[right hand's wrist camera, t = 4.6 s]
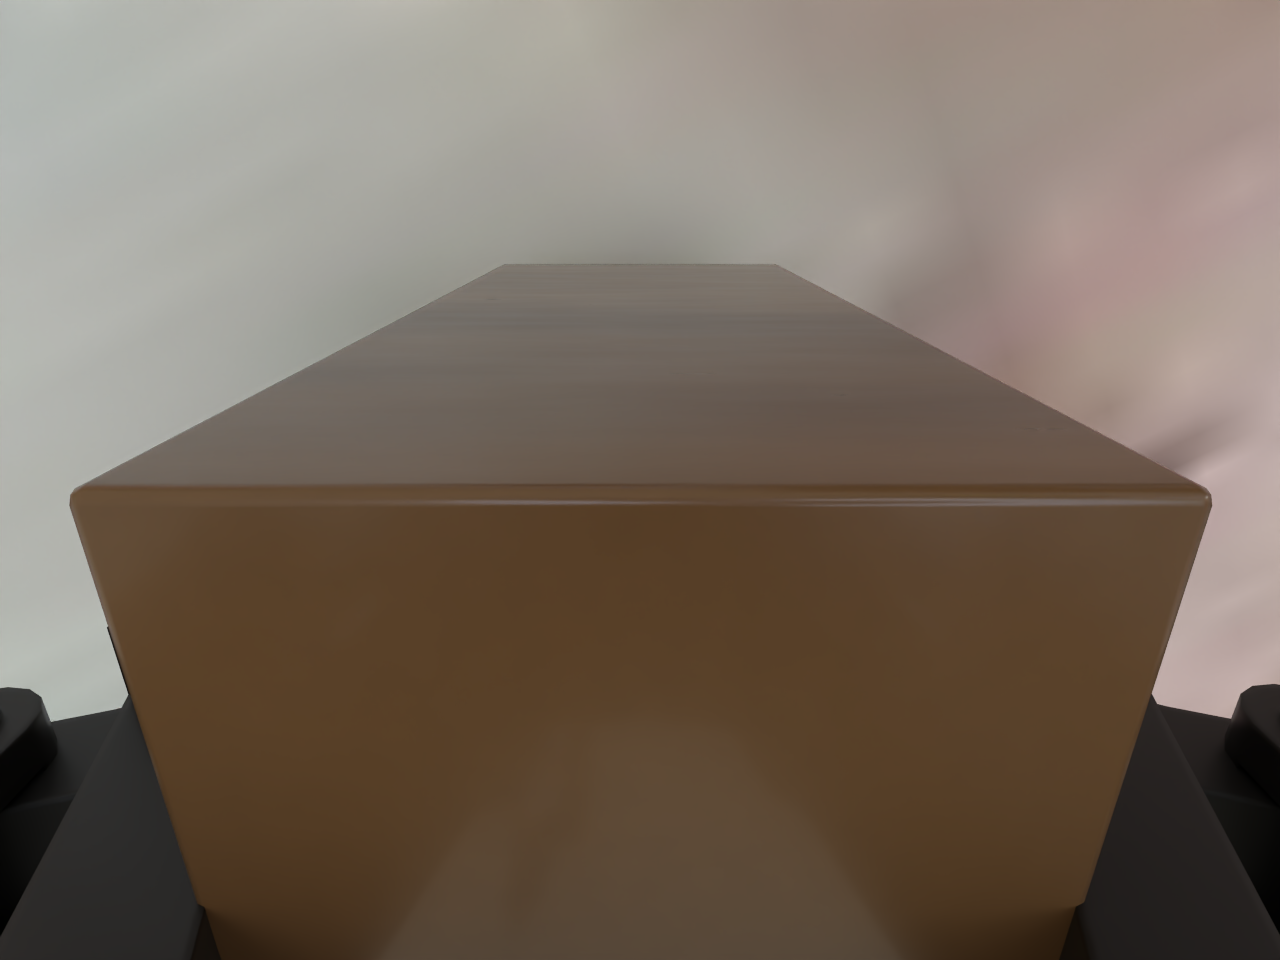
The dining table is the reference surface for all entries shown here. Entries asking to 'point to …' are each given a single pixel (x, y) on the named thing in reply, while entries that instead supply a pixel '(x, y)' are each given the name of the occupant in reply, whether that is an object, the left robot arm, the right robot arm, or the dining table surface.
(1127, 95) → the dining table surface
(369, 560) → the box
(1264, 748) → the right robot arm
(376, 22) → the dining table surface
